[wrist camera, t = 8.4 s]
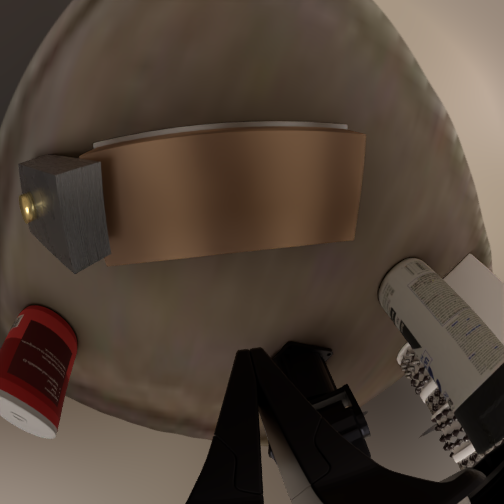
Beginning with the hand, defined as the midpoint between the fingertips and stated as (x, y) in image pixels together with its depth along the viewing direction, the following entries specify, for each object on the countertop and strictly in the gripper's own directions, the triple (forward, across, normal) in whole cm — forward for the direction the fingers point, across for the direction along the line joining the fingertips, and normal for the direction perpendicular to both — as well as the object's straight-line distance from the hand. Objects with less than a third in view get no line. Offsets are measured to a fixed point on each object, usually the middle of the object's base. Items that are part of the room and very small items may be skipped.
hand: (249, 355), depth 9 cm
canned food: (+12, +20, +10) cm, 25 cm away
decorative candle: (+12, -28, +23) cm, 38 cm away
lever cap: (+9, +9, -4) cm, 14 cm away
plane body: (+12, 0, -3) cm, 12 cm away
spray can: (+12, -18, +8) cm, 23 cm away
